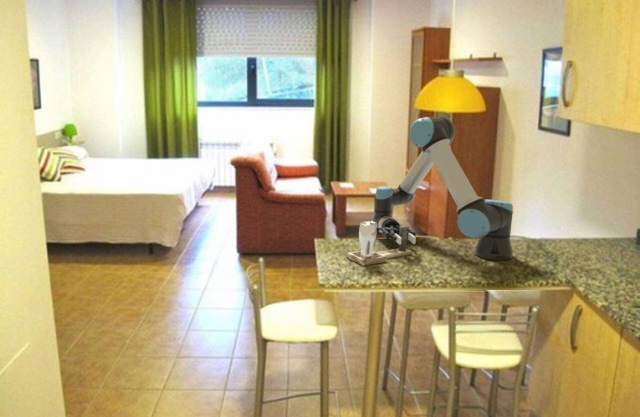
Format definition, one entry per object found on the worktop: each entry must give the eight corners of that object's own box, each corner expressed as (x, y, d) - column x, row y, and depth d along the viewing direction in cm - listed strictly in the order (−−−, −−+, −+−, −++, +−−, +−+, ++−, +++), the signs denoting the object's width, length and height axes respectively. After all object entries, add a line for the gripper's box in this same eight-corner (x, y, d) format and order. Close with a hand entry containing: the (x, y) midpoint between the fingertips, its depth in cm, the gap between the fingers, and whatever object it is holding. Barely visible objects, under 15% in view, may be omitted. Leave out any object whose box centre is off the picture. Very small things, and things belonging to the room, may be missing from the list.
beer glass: (363, 263, 233) (365, 226, 230) (354, 258, 239) (356, 221, 236) (378, 261, 236) (380, 224, 233) (369, 256, 242) (371, 220, 239)
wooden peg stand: (416, 256, 244) (418, 228, 241) (363, 265, 230) (364, 236, 227) (399, 249, 253) (400, 222, 251) (346, 257, 239) (347, 229, 237)
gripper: (408, 234, 265) (428, 249, 243) (368, 235, 262) (385, 250, 239) (409, 217, 264) (429, 231, 241) (369, 218, 260) (386, 232, 238)
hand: (407, 240), depth 240 cm, fingers open, 5 cm apart
